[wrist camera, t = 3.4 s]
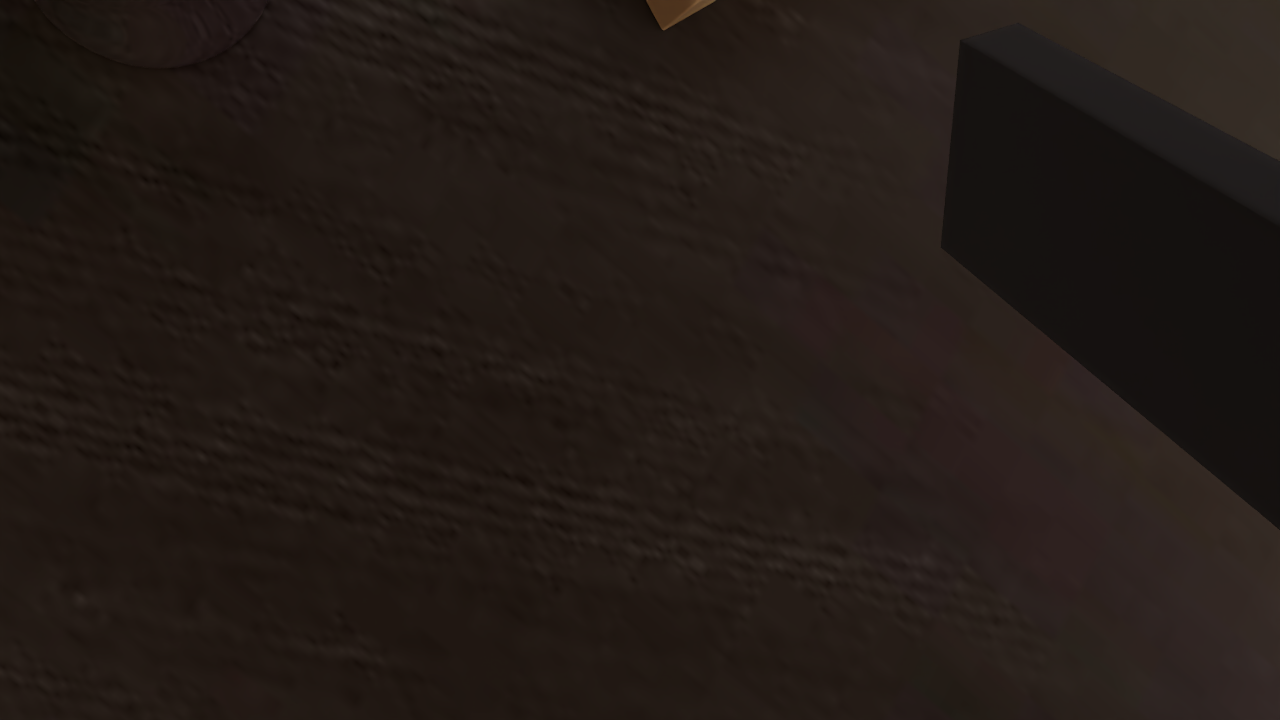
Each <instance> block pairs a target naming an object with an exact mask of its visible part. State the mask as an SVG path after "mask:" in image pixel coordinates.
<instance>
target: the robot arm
mask: <svg viewBox="0 0 1280 720" xmlns="http://www.w3.org/2000/svg"><path fill="white" fill-rule="evenodd" d="M941 248H942V249H944V250H945V251H946V252H947V253H948V254H950V255H951V256H952V257H953V258H954V259H956V260H957V261H958V262H959V263H960V264H962V265H963V266H964V267H965V268H966V269H968V270H969V271H970V272H971V273H972V274H974V275H975V276H976V277H977V278H978V279H980V280H981V281H982V282H983V283H984V284H986V285H987V286H988V287H989V288H990V289H992V290H993V291H994V292H995V293H996V294H998V295H999V296H1000V297H1001V298H1002V299H1004V300H1005V301H1006V302H1007V303H1008V304H1010V305H1011V306H1012V307H1013V308H1014V309H1016V310H1017V311H1018V312H1019V313H1020V314H1022V315H1023V316H1024V317H1025V318H1026V319H1028V320H1029V321H1030V322H1031V323H1032V324H1034V325H1035V326H1036V327H1037V328H1038V329H1040V330H1041V331H1042V332H1043V333H1044V334H1045V335H1047V336H1048V337H1049V338H1050V339H1051V340H1053V341H1054V342H1055V343H1056V344H1057V345H1059V346H1060V347H1061V348H1062V349H1063V350H1065V351H1066V352H1067V353H1068V354H1069V355H1071V356H1072V357H1073V358H1074V359H1075V360H1077V361H1078V362H1079V363H1080V364H1081V365H1083V366H1084V367H1085V368H1086V369H1087V370H1089V371H1090V372H1091V373H1092V374H1093V375H1095V376H1096V377H1097V378H1098V379H1099V380H1101V381H1102V382H1103V383H1104V384H1105V385H1107V386H1108V387H1109V388H1110V389H1111V390H1113V391H1114V392H1115V393H1116V394H1117V395H1119V396H1120V397H1121V398H1122V399H1123V400H1125V401H1126V402H1127V403H1128V404H1129V405H1131V406H1132V407H1133V408H1134V409H1135V410H1137V411H1138V412H1139V413H1140V414H1141V415H1143V416H1144V417H1145V418H1146V419H1147V420H1149V421H1150V422H1151V423H1152V424H1153V425H1155V426H1156V427H1157V428H1158V429H1159V430H1161V431H1162V432H1163V433H1164V434H1165V435H1167V436H1168V437H1169V438H1170V439H1171V440H1173V441H1174V442H1175V443H1176V444H1177V445H1179V446H1180V447H1181V448H1182V449H1183V450H1185V451H1186V452H1187V453H1188V454H1189V455H1191V456H1192V457H1193V458H1194V459H1195V460H1197V461H1198V462H1199V463H1200V464H1201V465H1203V466H1204V467H1205V468H1206V469H1207V470H1209V471H1210V472H1211V473H1212V474H1213V475H1215V476H1216V477H1217V478H1218V479H1219V480H1221V481H1222V482H1223V483H1224V484H1225V485H1227V486H1228V487H1229V488H1230V489H1231V490H1233V491H1234V492H1235V493H1236V494H1237V495H1239V496H1240V497H1241V498H1242V499H1243V500H1245V501H1246V502H1247V503H1248V504H1249V505H1251V506H1252V507H1253V508H1254V509H1255V510H1257V511H1258V512H1259V513H1260V514H1261V515H1263V516H1264V517H1265V518H1266V519H1267V520H1269V521H1270V522H1271V523H1272V524H1273V525H1275V526H1276V527H1277V528H1278V529H1279V530H1280V161H1278V160H1276V159H1274V158H1272V157H1270V156H1268V155H1267V154H1265V153H1263V152H1261V151H1259V150H1257V149H1255V148H1253V147H1251V146H1250V145H1248V144H1246V143H1244V142H1242V141H1240V140H1238V139H1236V138H1235V137H1233V136H1231V135H1229V134H1227V133H1225V132H1223V131H1221V130H1219V129H1218V128H1216V127H1214V126H1212V125H1210V124H1208V123H1206V122H1204V121H1202V120H1201V119H1199V118H1197V117H1195V116H1193V115H1191V114H1189V113H1187V112H1185V111H1184V110H1182V109H1180V108H1178V107H1176V106H1174V105H1172V104H1170V103H1168V102H1167V101H1165V100H1163V99H1161V98H1159V97H1157V96H1155V95H1153V94H1151V93H1150V92H1148V91H1146V90H1144V89H1142V88H1140V87H1138V86H1136V85H1135V84H1133V83H1131V82H1129V81H1127V80H1125V79H1123V78H1121V77H1119V76H1118V75H1116V74H1114V73H1112V72H1110V71H1108V70H1106V69H1104V68H1102V67H1101V66H1099V65H1097V64H1095V63H1093V62H1091V61H1089V60H1087V59H1085V58H1084V57H1082V56H1080V55H1078V54H1076V53H1074V52H1072V51H1070V50H1068V49H1067V48H1065V47H1063V46H1061V45H1059V44H1057V43H1055V42H1053V41H1051V40H1050V39H1048V38H1046V37H1044V36H1042V35H1040V34H1038V33H1036V32H1035V31H1033V30H1031V29H1029V28H1027V27H1025V26H1023V25H1021V24H1019V23H1017V24H1013V25H1010V26H1006V27H1003V28H1000V29H996V30H993V31H990V32H986V33H983V34H980V35H976V36H973V37H970V38H966V39H963V40H960V48H959V59H958V70H957V80H956V91H955V102H954V113H953V123H952V134H951V145H950V155H949V166H948V177H947V187H946V198H945V209H944V220H943V230H942V241H941Z"/></svg>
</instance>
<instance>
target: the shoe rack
mask: <svg viewBox="0 0 1280 720" xmlns="http://www.w3.org/2000/svg"><path fill="white" fill-rule="evenodd" d="M714 1H716V0H646V2H647V4H648V5H649V7H650V9H651V11H652V13H653V14H654V16H655V18H656V20H657V22H658V23H659V25H660V27H661V29H662V30H665V29H667V28H669V27H671V26H672V25H674V24H676V23H678V22H679V21H681V20H683V19H685V18H686V17H688V16H690V15H692V14H693V13H695V12H697V11H699V10H700V9H702V8H704V7H706V6H707V5H709V4H711V3H713V2H714Z"/></svg>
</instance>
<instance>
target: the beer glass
mask: <svg viewBox="0 0 1280 720" xmlns="http://www.w3.org/2000/svg"><path fill="white" fill-rule="evenodd" d="M34 1H35V3H36V4H37V6H38V7H39V8H40V10H41V11H42V12H43V14H44V15H45V16H46V17H47V18H48V19H49V20H50V21H51V22H52V23H53V24H54V25H55V26H56V27H57V28H58V29H59V30H60V31H61V32H63V33H64V34H65V35H66V36H68V37H69V38H71V39H72V40H74V41H75V42H77V43H78V44H80V45H81V46H83V47H85V48H87V49H88V50H90V51H92V52H94V53H96V54H99V55H101V56H103V57H106V58H108V59H111V60H113V61H116V62H120V63H123V64H127V65H132V66H137V67H145V68H174V67H181V66H187V65H191V64H195V63H199V62H202V61H204V60H207V59H209V58H212V57H214V56H216V55H218V54H220V53H222V52H223V51H225V50H227V49H228V48H230V47H231V46H233V45H234V44H235V43H236V42H238V41H239V40H240V39H241V38H242V37H243V36H244V35H245V34H246V33H247V32H248V31H249V30H250V29H251V28H252V27H253V26H254V24H255V23H256V22H257V20H258V19H259V17H260V16H261V14H262V12H263V11H264V9H265V7H266V5H267V3H268V0H34Z"/></svg>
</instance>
